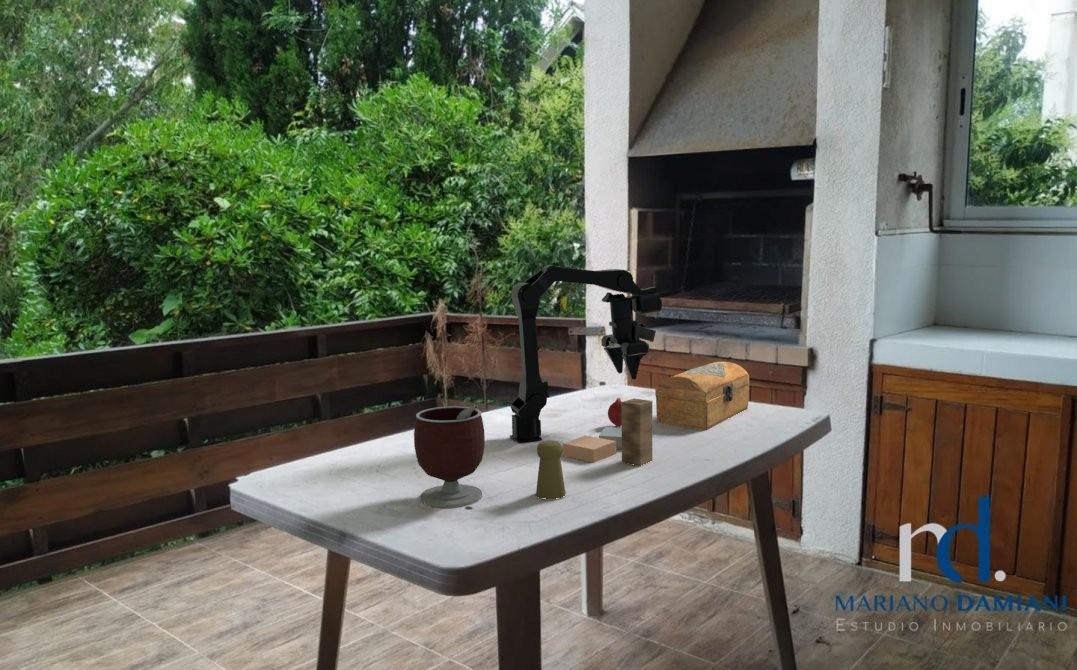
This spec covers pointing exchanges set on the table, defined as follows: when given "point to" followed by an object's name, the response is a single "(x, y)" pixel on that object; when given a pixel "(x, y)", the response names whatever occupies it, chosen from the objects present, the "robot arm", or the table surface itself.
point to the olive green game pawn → (550, 470)
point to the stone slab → (612, 435)
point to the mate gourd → (449, 452)
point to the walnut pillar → (636, 431)
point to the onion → (615, 413)
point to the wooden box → (703, 396)
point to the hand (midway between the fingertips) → (627, 376)
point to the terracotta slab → (589, 448)
